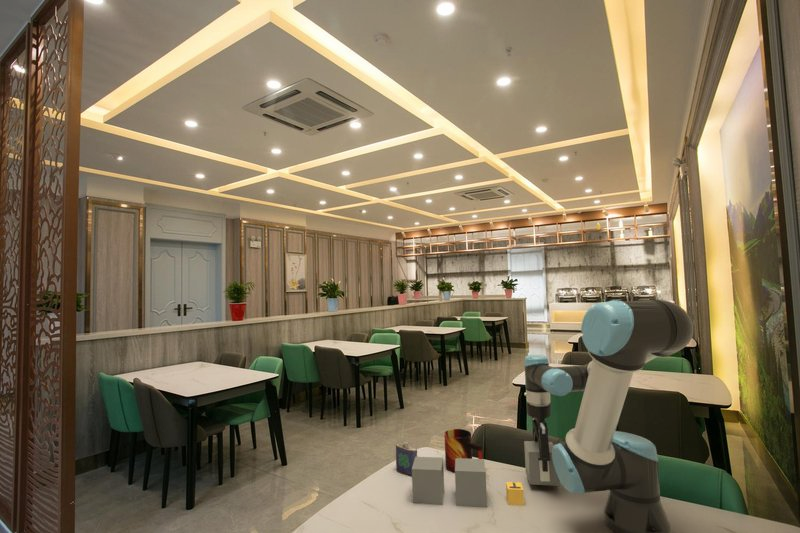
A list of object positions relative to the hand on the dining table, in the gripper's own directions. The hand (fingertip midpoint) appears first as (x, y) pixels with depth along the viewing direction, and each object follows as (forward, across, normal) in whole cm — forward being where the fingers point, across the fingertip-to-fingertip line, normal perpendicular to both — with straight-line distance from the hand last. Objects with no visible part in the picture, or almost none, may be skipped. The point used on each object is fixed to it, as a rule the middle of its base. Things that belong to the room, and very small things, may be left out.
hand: (542, 473), depth 127 cm
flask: (+4, -4, -45) cm, 46 cm away
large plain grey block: (+3, +11, -36) cm, 38 cm away
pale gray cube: (+3, +11, -23) cm, 26 cm away
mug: (+4, -10, -25) cm, 27 cm away
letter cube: (+4, +11, -10) cm, 15 cm away
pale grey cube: (+1, 0, 0) cm, 1 cm away
